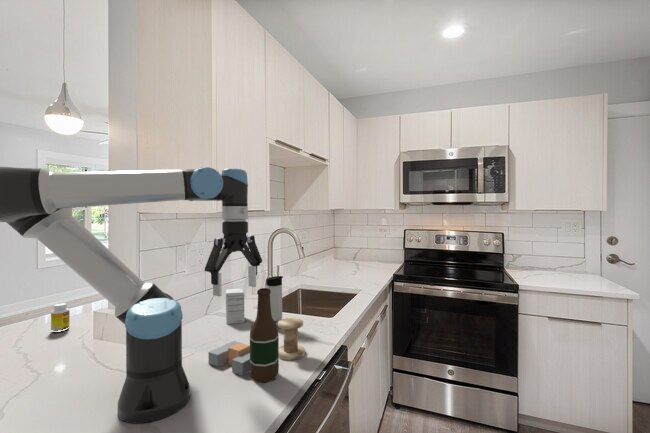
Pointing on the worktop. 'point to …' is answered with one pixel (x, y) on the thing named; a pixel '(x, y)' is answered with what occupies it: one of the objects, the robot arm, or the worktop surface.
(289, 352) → the bobbin
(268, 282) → the travel mug
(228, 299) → the supplement box
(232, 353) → the block
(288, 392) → the worktop surface
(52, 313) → the supplement bottle
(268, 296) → the beer bottle
